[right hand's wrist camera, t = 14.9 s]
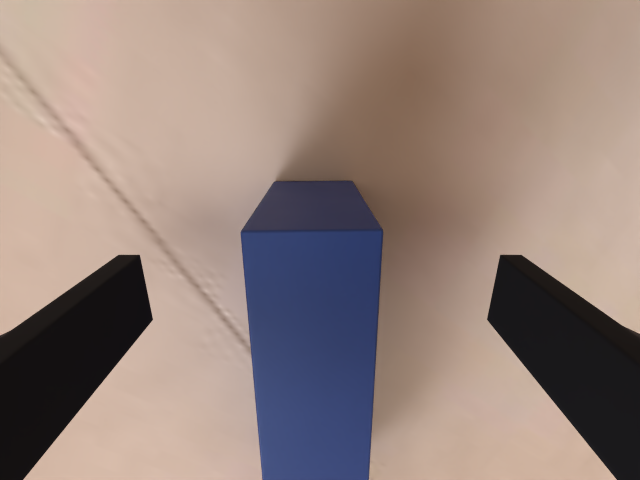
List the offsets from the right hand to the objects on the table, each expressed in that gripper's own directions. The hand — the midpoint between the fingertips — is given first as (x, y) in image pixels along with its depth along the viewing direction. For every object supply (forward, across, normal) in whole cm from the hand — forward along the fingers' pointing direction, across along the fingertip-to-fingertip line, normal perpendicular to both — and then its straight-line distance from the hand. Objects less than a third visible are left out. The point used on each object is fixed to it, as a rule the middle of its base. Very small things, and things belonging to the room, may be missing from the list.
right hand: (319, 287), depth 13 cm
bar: (+8, 0, -8) cm, 12 cm away
